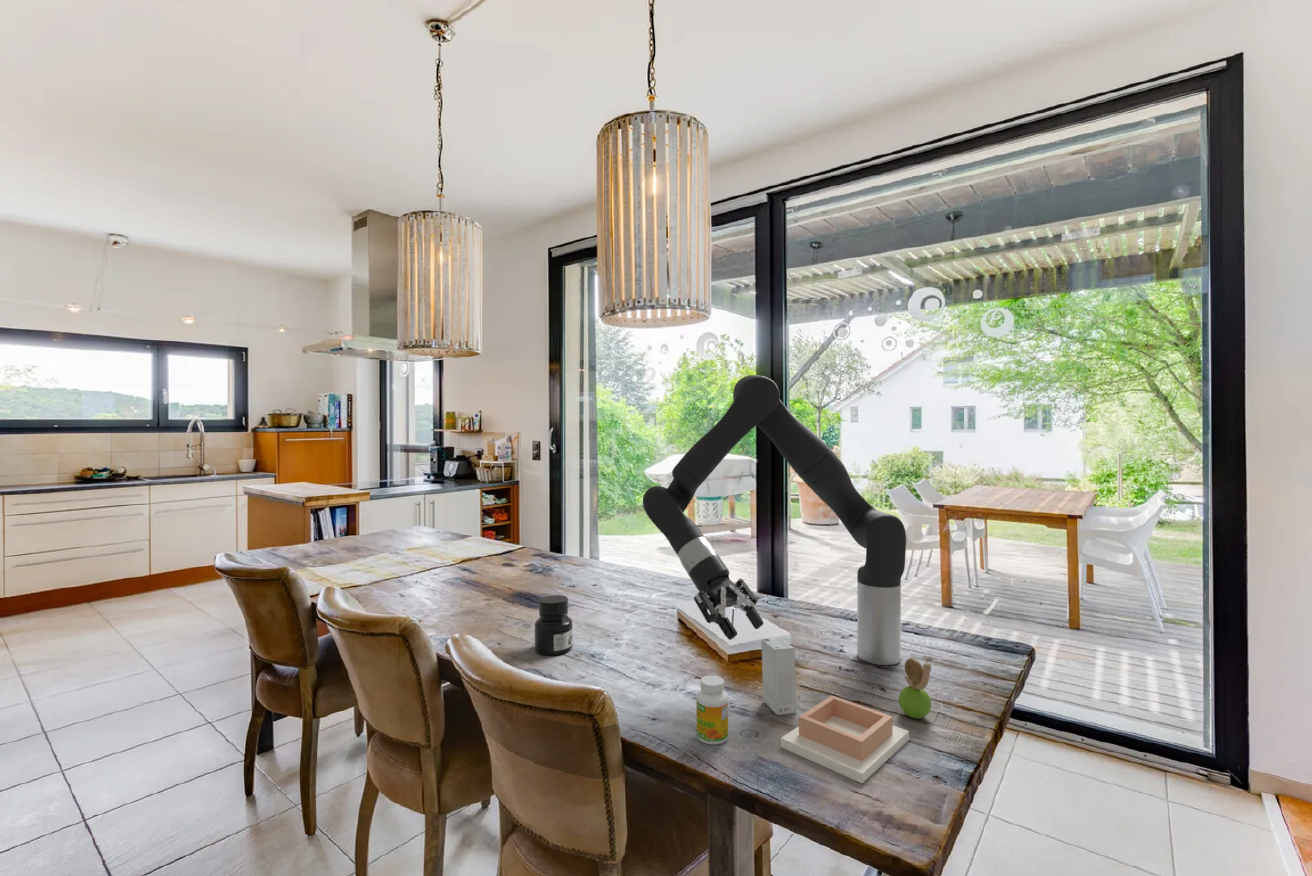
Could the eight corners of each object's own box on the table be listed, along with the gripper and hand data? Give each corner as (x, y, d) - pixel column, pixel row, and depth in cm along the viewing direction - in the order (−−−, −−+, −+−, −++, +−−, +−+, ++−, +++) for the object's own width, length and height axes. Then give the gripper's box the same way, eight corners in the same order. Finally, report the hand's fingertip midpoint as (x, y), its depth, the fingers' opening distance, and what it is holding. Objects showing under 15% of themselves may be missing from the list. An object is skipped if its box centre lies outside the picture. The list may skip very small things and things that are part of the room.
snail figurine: (916, 729, 102) (917, 660, 101) (892, 712, 108) (892, 647, 108) (942, 724, 103) (942, 657, 103) (916, 707, 109) (916, 644, 109)
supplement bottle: (690, 739, 98) (690, 682, 98) (705, 726, 103) (705, 671, 103) (719, 749, 95) (718, 690, 95) (733, 734, 100) (733, 678, 100)
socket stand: (832, 711, 108) (832, 687, 108) (908, 740, 98) (908, 713, 98) (780, 747, 96) (780, 720, 96) (862, 783, 86) (862, 753, 86)
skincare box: (797, 713, 107) (797, 647, 107) (775, 716, 106) (775, 650, 106) (782, 698, 113) (782, 636, 113) (760, 701, 112) (760, 638, 112)
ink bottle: (564, 658, 133) (563, 606, 133) (527, 655, 135) (527, 604, 135) (578, 643, 143) (578, 594, 143) (544, 640, 145) (543, 592, 144)
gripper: (689, 559, 116) (735, 630, 108) (733, 548, 126) (779, 613, 118) (670, 580, 120) (713, 651, 112) (714, 568, 130) (757, 633, 122)
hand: (747, 631), depth 115 cm, fingers open, 8 cm apart
